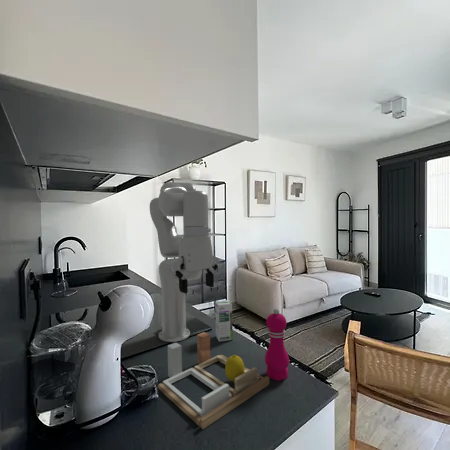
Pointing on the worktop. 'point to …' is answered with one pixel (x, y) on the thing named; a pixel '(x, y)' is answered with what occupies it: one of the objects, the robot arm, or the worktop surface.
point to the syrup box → (223, 320)
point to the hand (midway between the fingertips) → (197, 289)
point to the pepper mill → (276, 347)
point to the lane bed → (223, 408)
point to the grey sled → (175, 374)
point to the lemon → (234, 367)
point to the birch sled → (204, 361)
